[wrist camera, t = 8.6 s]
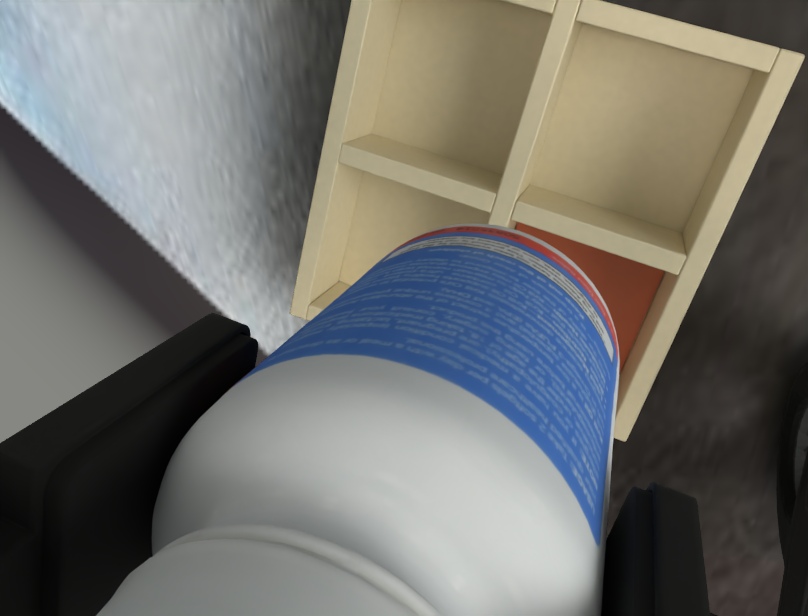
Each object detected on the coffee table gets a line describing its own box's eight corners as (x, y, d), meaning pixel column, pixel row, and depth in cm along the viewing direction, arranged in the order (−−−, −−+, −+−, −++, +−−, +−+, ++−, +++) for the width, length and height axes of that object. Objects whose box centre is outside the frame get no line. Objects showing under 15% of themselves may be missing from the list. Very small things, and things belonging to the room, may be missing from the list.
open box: (325, 286, 35) (288, 314, 31) (398, -50, 29) (363, -63, 25) (627, 397, 32) (625, 443, 29) (783, 53, 26) (806, 54, 22)
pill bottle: (343, 221, 14) (-134, 499, 5) (621, 213, 12) (569, 602, 4) (372, 457, 16) (46, 950, 7) (620, 479, 14) (581, 1162, 6)
